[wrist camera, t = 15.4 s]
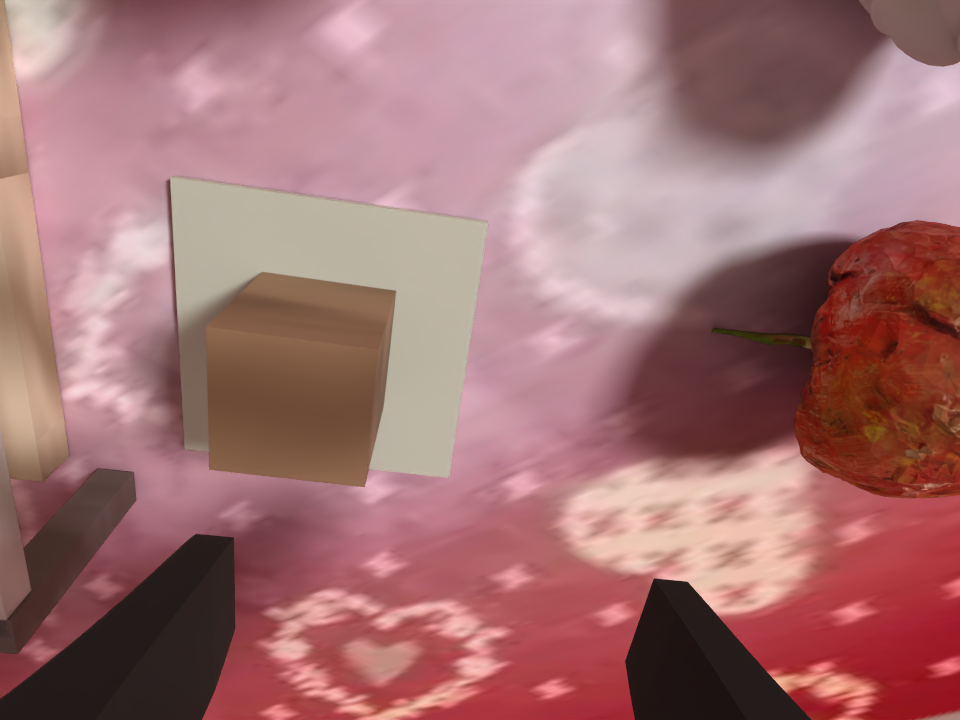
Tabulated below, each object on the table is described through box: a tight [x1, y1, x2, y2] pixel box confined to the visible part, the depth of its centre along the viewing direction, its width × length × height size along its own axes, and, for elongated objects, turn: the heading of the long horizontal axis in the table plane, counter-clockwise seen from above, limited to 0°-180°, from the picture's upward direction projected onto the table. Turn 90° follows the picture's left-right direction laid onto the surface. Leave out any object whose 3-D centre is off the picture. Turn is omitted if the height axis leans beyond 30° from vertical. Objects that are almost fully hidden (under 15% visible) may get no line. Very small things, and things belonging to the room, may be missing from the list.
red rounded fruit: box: [712, 220, 960, 498], centre depth 17 cm, size 7×7×10 cm
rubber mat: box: [170, 176, 488, 478], centre depth 20 cm, size 9×9×1 cm
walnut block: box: [206, 272, 396, 487], centre depth 17 cm, size 4×4×4 cm
